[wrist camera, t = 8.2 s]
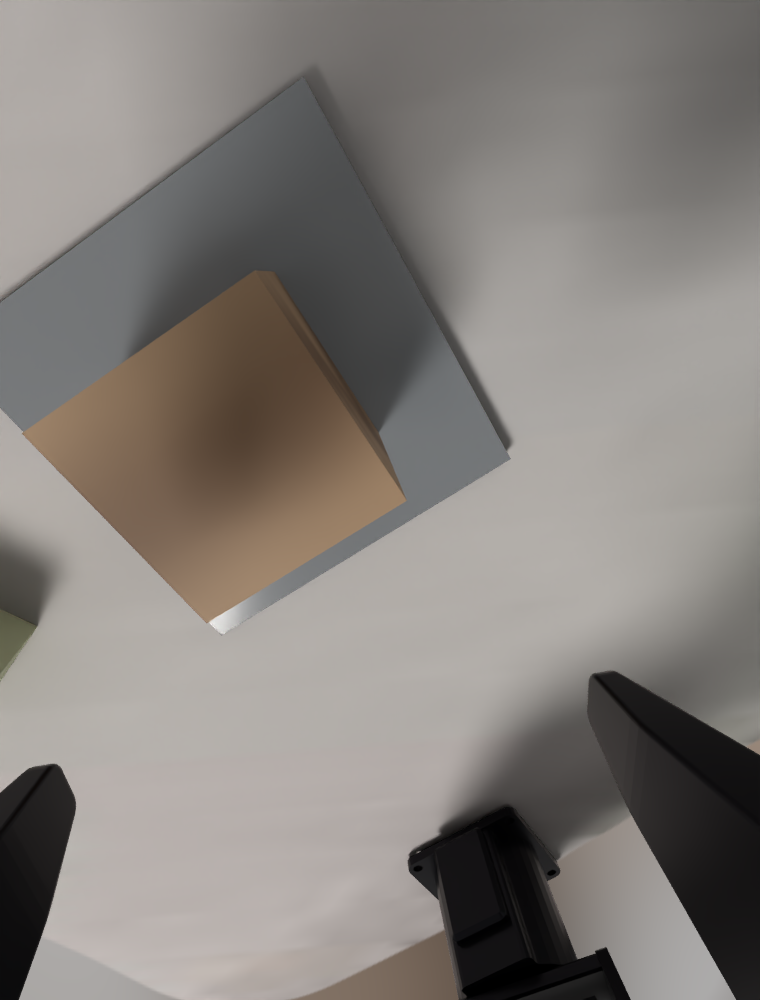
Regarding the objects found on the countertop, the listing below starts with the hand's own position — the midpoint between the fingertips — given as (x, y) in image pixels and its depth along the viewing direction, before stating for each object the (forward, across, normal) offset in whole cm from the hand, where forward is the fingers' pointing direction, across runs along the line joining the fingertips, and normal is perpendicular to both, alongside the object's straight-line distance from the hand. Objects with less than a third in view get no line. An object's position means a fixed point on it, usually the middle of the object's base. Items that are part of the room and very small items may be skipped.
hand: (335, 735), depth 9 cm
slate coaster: (+11, +2, -4) cm, 12 cm away
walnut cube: (+11, +2, -4) cm, 12 cm away
